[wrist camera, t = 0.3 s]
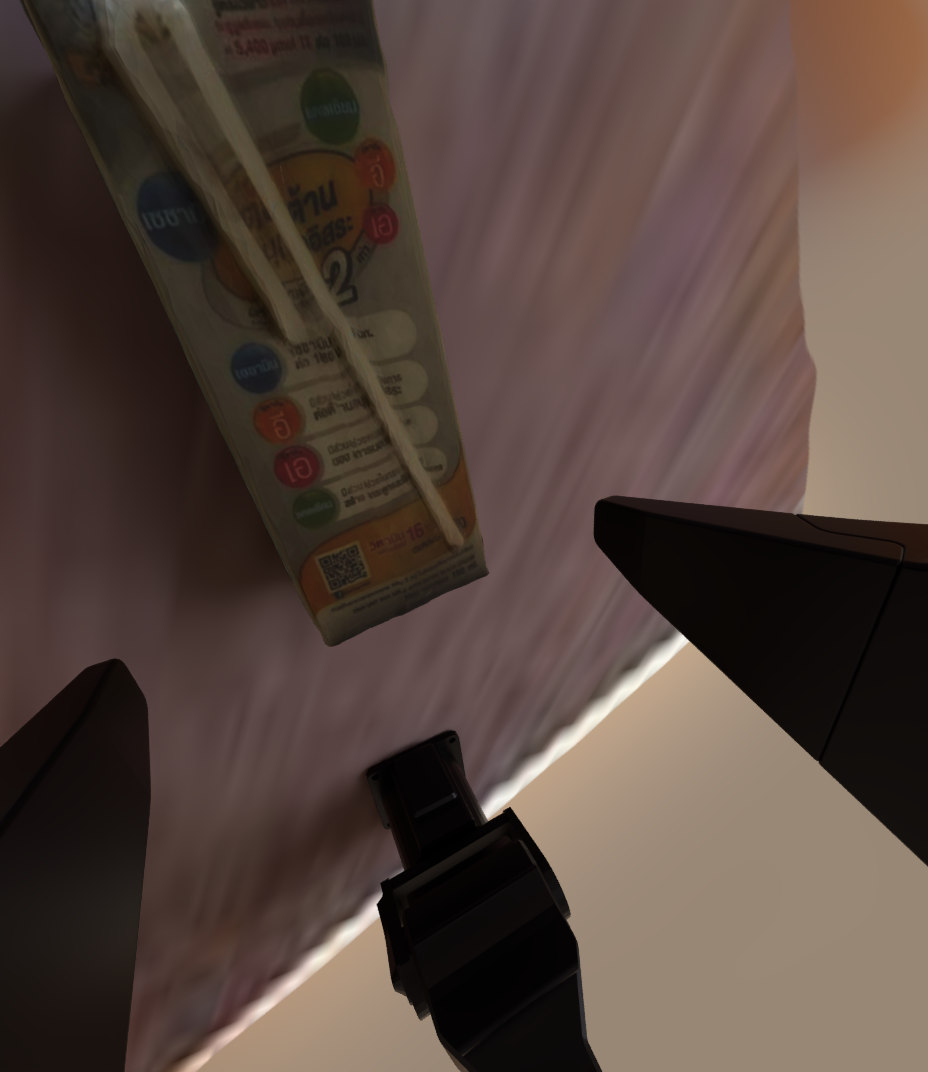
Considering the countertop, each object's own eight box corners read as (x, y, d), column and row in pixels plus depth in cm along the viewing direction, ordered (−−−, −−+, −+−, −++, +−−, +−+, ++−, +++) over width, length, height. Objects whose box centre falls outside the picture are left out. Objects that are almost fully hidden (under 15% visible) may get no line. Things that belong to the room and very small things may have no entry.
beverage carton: (327, 37, 16) (386, -88, 10) (444, 525, 26) (504, 586, 21) (57, 60, 14) (-42, -85, 8) (301, 583, 24) (326, 668, 18)
